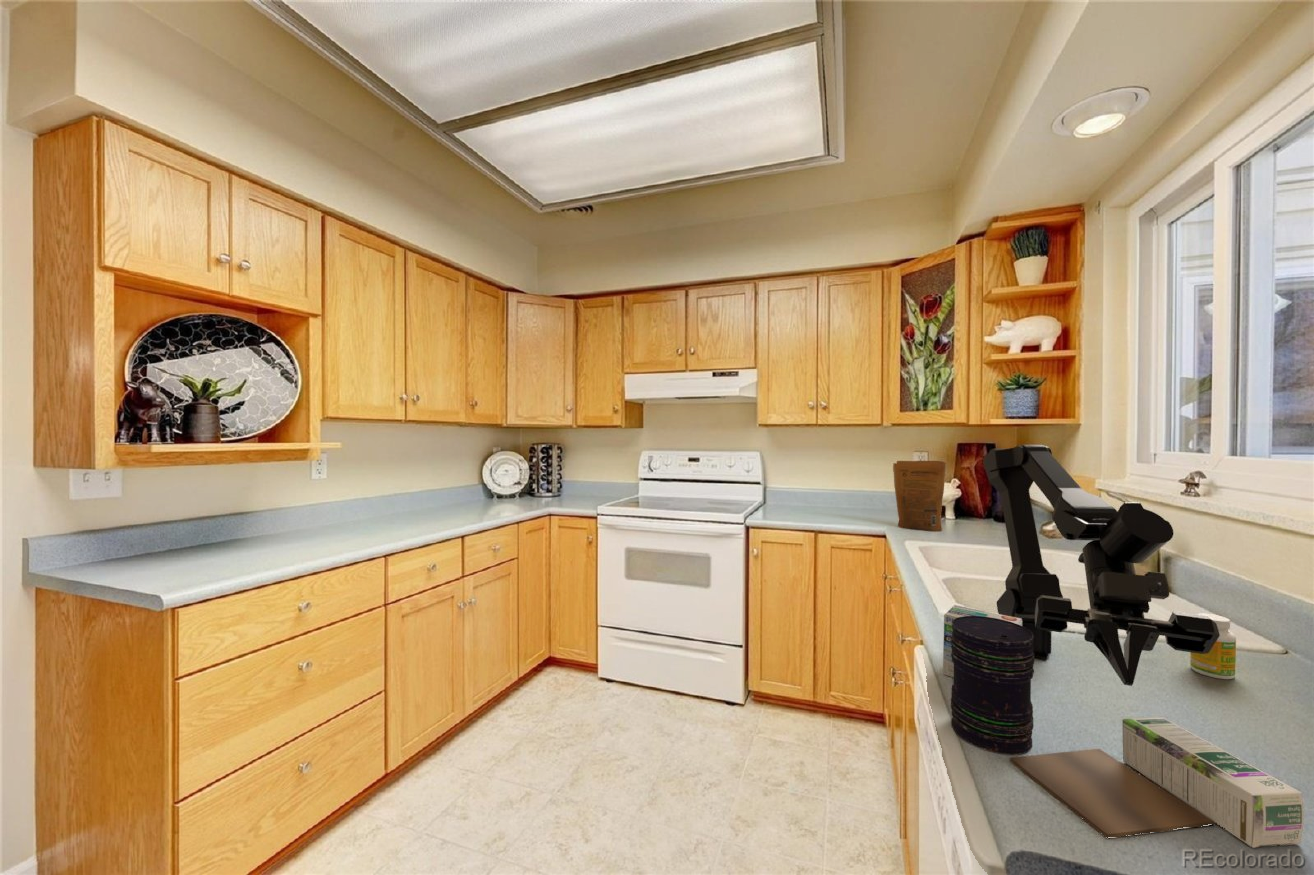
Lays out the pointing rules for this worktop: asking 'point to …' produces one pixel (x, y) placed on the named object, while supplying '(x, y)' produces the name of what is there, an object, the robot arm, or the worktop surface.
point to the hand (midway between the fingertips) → (1128, 684)
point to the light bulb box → (948, 618)
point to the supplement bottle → (1217, 653)
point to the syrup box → (1215, 782)
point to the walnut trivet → (1108, 793)
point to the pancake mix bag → (919, 493)
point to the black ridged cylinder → (992, 684)
